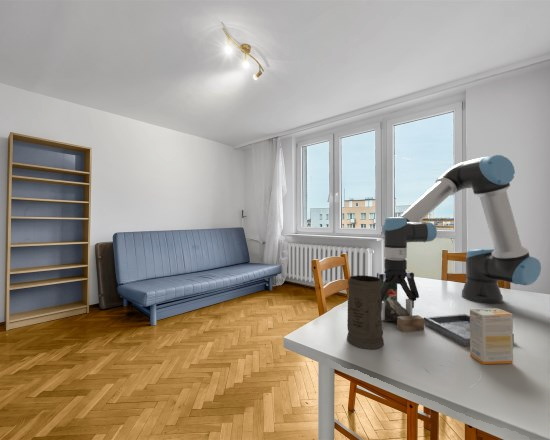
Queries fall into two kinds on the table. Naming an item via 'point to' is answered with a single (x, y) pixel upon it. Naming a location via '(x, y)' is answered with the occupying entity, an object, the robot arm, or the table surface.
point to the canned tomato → (391, 291)
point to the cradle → (410, 323)
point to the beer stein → (365, 312)
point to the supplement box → (491, 336)
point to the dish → (452, 327)
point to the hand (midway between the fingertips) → (395, 317)
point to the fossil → (393, 309)
